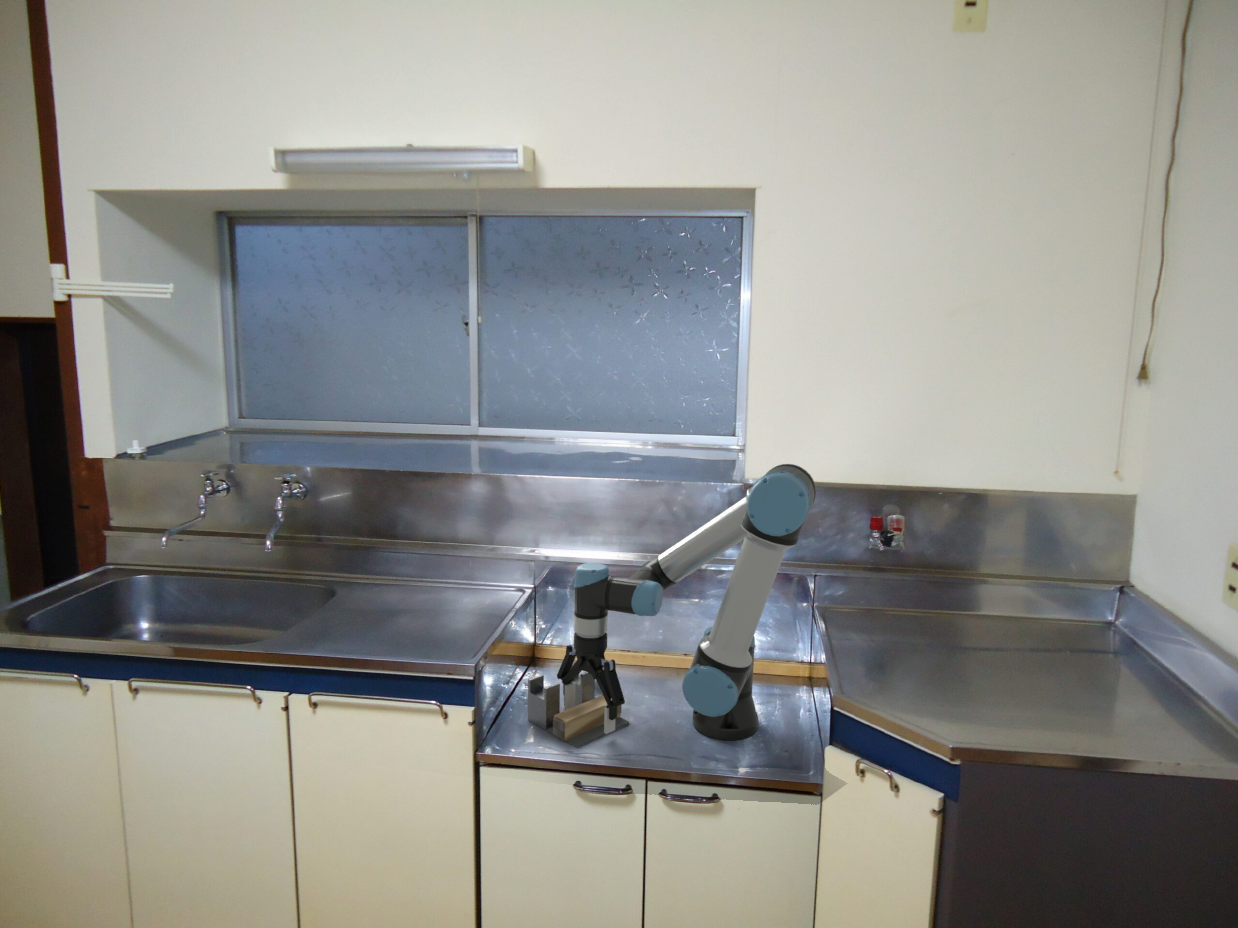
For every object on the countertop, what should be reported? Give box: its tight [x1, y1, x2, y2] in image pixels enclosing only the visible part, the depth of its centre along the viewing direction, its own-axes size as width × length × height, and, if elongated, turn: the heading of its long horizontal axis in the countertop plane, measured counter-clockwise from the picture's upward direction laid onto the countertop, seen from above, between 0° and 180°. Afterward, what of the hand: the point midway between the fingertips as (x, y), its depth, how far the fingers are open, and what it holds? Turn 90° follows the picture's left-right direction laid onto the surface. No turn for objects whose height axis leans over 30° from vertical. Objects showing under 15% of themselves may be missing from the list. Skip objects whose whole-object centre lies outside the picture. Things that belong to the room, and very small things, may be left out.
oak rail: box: [552, 694, 622, 742], centre depth 185 cm, size 4×18×4 cm, turn 135°
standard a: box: [570, 661, 596, 706], centre depth 194 cm, size 7×4×10 cm, turn 45°
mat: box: [547, 716, 630, 749], centre depth 185 cm, size 10×16×1 cm, turn 135°
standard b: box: [527, 674, 561, 731], centre depth 187 cm, size 7×4×10 cm, turn 45°
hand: (589, 720), depth 185 cm, fingers open, 13 cm apart
